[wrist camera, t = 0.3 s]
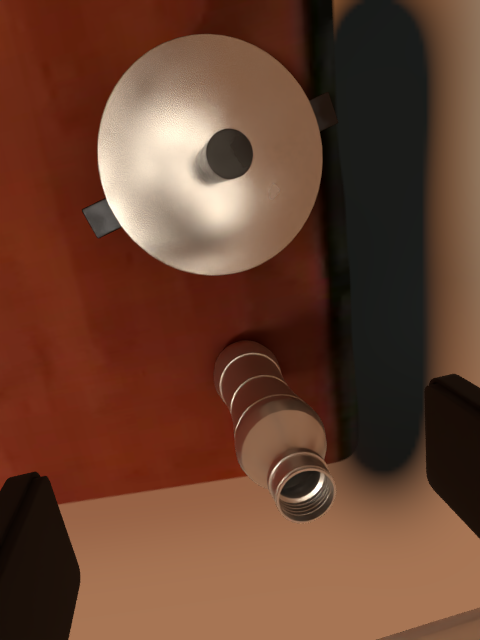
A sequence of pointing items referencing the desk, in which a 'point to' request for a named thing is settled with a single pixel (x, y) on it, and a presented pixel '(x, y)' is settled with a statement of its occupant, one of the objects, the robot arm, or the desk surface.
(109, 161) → the lid
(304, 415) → the plastic bottle
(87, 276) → the desk surface
